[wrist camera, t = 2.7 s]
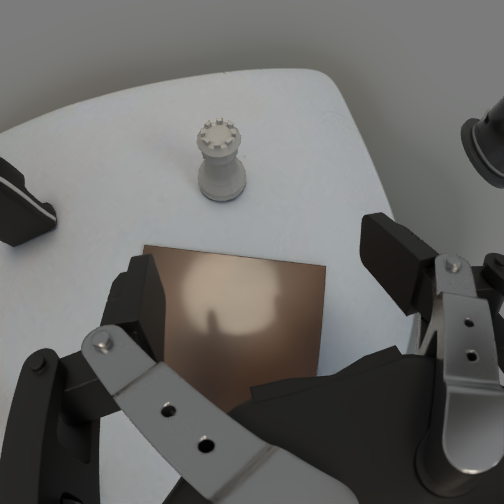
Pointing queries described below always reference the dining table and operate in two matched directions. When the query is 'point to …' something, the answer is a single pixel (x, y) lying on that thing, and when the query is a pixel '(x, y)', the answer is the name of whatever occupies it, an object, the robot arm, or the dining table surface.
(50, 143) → the dining table surface
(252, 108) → the dining table surface
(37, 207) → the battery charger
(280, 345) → the serving board
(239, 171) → the rook chess piece
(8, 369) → the dining table surface
